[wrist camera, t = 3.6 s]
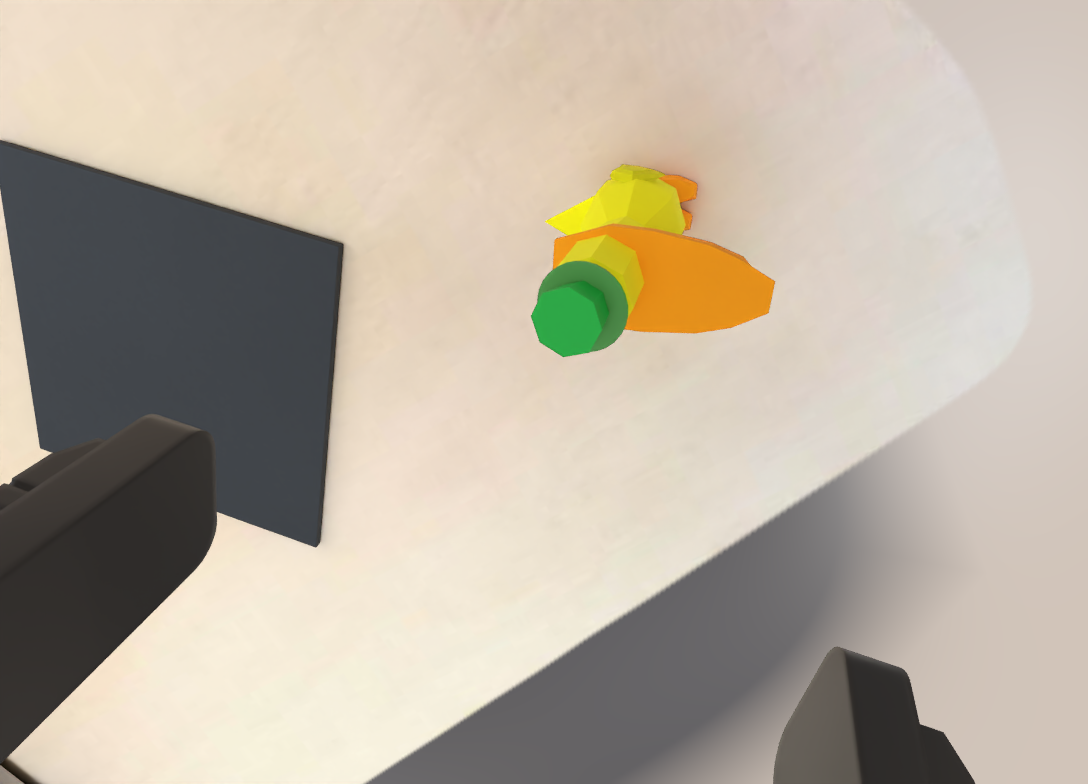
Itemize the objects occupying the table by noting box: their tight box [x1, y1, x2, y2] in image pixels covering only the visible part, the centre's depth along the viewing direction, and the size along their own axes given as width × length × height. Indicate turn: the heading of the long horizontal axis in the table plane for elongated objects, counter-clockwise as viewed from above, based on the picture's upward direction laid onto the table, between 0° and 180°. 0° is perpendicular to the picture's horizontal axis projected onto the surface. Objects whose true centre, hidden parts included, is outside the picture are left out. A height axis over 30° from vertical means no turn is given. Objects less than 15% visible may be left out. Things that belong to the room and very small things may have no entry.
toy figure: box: [531, 164, 775, 357], centre depth 21 cm, size 7×4×12 cm, turn 87°
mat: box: [0, 140, 343, 547], centre depth 35 cm, size 16×16×1 cm
